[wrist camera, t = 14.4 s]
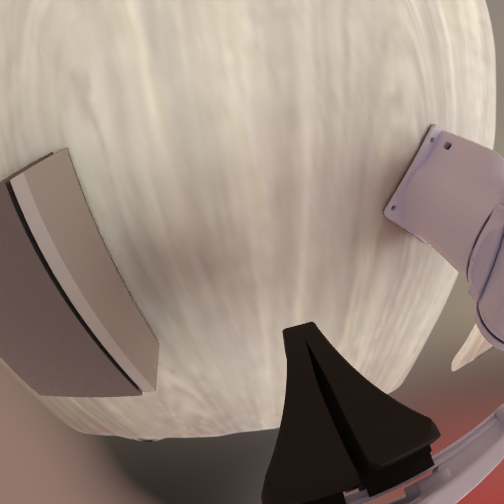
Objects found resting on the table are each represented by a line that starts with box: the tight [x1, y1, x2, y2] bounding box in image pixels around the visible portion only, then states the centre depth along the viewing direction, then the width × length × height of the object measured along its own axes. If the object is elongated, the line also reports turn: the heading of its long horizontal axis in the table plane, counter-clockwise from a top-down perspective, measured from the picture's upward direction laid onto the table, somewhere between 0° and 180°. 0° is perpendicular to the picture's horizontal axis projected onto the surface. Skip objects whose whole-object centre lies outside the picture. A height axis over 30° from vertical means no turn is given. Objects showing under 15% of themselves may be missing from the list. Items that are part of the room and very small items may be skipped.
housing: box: [0, 152, 142, 397], centre depth 17 cm, size 14×20×6 cm
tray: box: [10, 148, 159, 392], centre depth 17 cm, size 12×20×6 cm, turn 10°
